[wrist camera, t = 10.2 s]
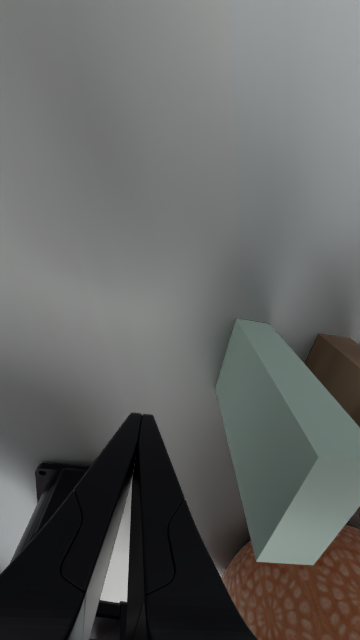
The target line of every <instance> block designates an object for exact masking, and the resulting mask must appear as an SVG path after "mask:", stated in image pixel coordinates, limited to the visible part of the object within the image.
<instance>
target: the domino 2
mask: <svg viewBox="0 0 360 640" xmlns="http://www.w3.org/2000/svg"><path fill="white" fill-rule="evenodd" d="M305 365H306V366H307V367H308V368H309V370H310V371H311V372H312V373H313V374H314V375H315V377H316V378H317V379H318V380H319V381H320V382H321V383H322V385H323V386H324V387H325V388H326V389H327V390H328V392H329V393H330V394H331V395H332V396H333V397H334V398H335V400H336V401H337V402H338V403H339V404H340V405H341V407H342V408H343V409H344V410H345V411H346V412H347V413H348V415H349V416H350V417H351V418H352V419H353V420H354V422H355V423H356V424H357V425H358V426H359V427H360V345H358V344H357V343H355V342H354V341H353V340H351V339H350V338H344V337H337V336H331V335H325V334H319V333H318V336H317V338H316V340H315V342H314V344H313V347H312V349H311V351H310V353H309V355H308V357H307V360H306V362H305ZM356 511H357V512H358V514H359V515H360V507H359V508H358V509H357V510H356Z"/></svg>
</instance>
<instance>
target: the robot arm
mask: <svg viewBox="0 0 360 640" xmlns="http://www.w3.org/2000/svg"><path fill="white" fill-rule="evenodd" d="M141 418H142V419H141ZM135 457H136V458H135ZM134 463H135V464H134ZM133 470H134V471H133ZM35 475H36V488H37V500H38V504H37V506H36V508H35V510H34V513H33V515H32V517H31V519H30V521H29V523H28V526H27V528H26V530H25V532H24V534H23V536H22V539H21V541H20V543H19V545H18V547H17V549H16V551H15V554H14V556H13V558H12V560H11V562H10V564H9V565H8V567H7V568H6V569H5V570H4V571H3V572H2V573H1V574H0V640H258V639H257V638H256V636H255V635H254V634H253V633H252V631H251V630H250V629H249V627H248V626H247V624H246V623H245V621H244V620H243V618H242V617H241V615H240V613H239V611H238V610H237V608H236V606H235V604H234V602H233V600H232V599H231V597H230V595H229V593H228V591H227V589H226V587H225V585H224V583H223V581H222V579H221V577H220V575H219V573H218V571H217V569H216V567H215V565H214V563H213V561H212V559H211V557H210V555H209V553H208V551H207V549H206V547H205V545H204V543H203V541H202V538H201V536H200V534H199V532H198V530H197V528H196V525H195V523H194V520H193V518H192V516H191V513H190V511H189V508H188V505H187V503H186V500H184V499H185V498H184V495H183V492H182V490H181V487H180V484H179V482H178V479H177V476H176V474H175V471H174V469H173V466H172V463H171V461H170V458H169V455H168V453H167V450H166V447H165V445H164V442H163V439H162V437H161V434H160V432H159V429H158V426H157V424H156V421H155V418H154V416H153V415H150V414H143V415H142V414H141V413H131V414H130V415H129V416H128V417H127V419H126V420H125V421H124V423H123V424H122V425H121V427H120V428H119V429H118V431H117V432H116V433H115V435H114V436H113V437H112V439H111V440H110V441H109V443H108V444H107V445H106V447H105V448H104V449H103V451H102V452H101V453H100V455H99V456H98V457H97V459H96V460H95V461H94V463H93V464H92V465H91V467H80V466H69V465H59V464H48V463H42V464H40V465H39V466H38V467H37V469H36V472H35ZM132 475H133V480H132ZM131 480H132V500H131V525H130V549H129V573H128V598H127V602H123V601H120V603H114V602H108V601H102V600H100V596H101V593H102V589H103V585H104V581H105V578H106V574H107V570H108V566H109V563H110V559H111V555H112V551H113V548H114V544H115V540H116V537H117V533H118V529H119V525H120V522H121V518H122V514H123V510H124V507H125V503H126V499H127V496H128V492H129V488H130V484H131Z"/></svg>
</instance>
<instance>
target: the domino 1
mask: <svg viewBox="0 0 360 640" xmlns="http://www.w3.org/2000/svg"><path fill="white" fill-rule="evenodd" d="M215 391H216V395H217V400H218V404H219V408H220V412H221V416H222V421H223V425H224V429H225V433H226V437H227V442H228V446H229V450H230V454H231V458H232V463H233V467H234V471H235V475H236V480H237V484H238V488H239V492H240V496H241V501H242V505H243V509H244V513H245V517H246V522H247V526H248V530H249V534H250V538H251V543H252V547H253V551H254V555H255V559H256V562H269V563H284V564H300V565H314V564H315V562H316V561H317V560H318V559H319V557H320V556H321V555H322V554H323V552H324V551H325V550H326V548H327V547H328V546H329V545H330V543H331V542H332V541H333V540H334V538H335V537H336V536H337V535H338V533H339V532H340V531H341V529H342V528H343V527H344V526H345V524H346V523H347V522H348V521H349V519H350V518H351V517H352V515H353V514H354V513H355V512H356V510H357V509H358V508H359V507H360V427H359V426H358V425H357V424H356V423H355V422H354V420H353V419H352V418H351V417H350V416H349V415H348V413H347V412H346V411H345V410H344V409H343V408H342V407H341V405H340V404H339V403H338V402H337V401H336V400H335V398H334V397H333V396H332V395H331V394H330V393H329V392H328V390H327V389H326V388H325V387H324V386H323V385H322V383H321V382H320V381H319V380H318V379H317V378H316V377H315V375H314V374H313V373H312V372H311V371H310V370H309V368H308V367H307V366H306V365H305V364H304V363H303V362H302V360H301V359H300V358H299V357H298V356H297V355H296V353H295V352H294V351H293V350H292V349H291V348H290V346H289V345H288V344H287V343H286V342H285V341H284V340H283V338H282V337H281V336H280V335H279V334H278V333H277V331H276V330H275V329H274V328H273V327H272V326H271V325H270V324H268V323H262V322H256V321H249V320H243V319H237V318H236V321H235V324H234V327H233V331H232V334H231V337H230V340H229V344H228V347H227V350H226V354H225V357H224V360H223V364H222V367H221V370H220V373H219V377H218V380H217V383H216V387H215Z"/></svg>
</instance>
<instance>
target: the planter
mask: <svg viewBox="0 0 360 640" xmlns="http://www.w3.org/2000/svg"><path fill="white" fill-rule="evenodd" d="M221 579H222V581H223V583H224V585H225V587H226V589H227V591H228V593H229V595H230V597H231V599H232V600H233V602H234V604H235V606H236V608H237V610H238V611H239V613H240V615H241V617H242V618H243V620H244V621H245V623H246V624H247V626H248V627H249V629H250V630H251V631H252V633H253V634H254V635H255V636H256V638H257V639H258V640H360V529H358V528H355V527H352V526H349V525H346V524H345V526H344V527H343V528H342V529H341V531H340V532H339V533H338V535H337V536H336V537H335V538H334V540H333V541H332V542H331V543H330V545H329V546H328V547H327V548H326V550H325V551H324V552H323V554H322V555H321V556H320V557H319V559H318V560H317V561H316V562H315V564H314V565H300V564H284V563H269V562H256V559H255V555H254V551H253V547H252V543H251V540H250V541H249V542H248V543H247V544H245V545H244V546H243V547H242V548H241V549H240V550H239V551H238V553H237V554H236V555H235V556H234V558H233V559H232V561H231V562H230V564H229V565H228V567H227V569H226V570H225V572H224V574H223V576H222V578H221Z"/></svg>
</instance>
